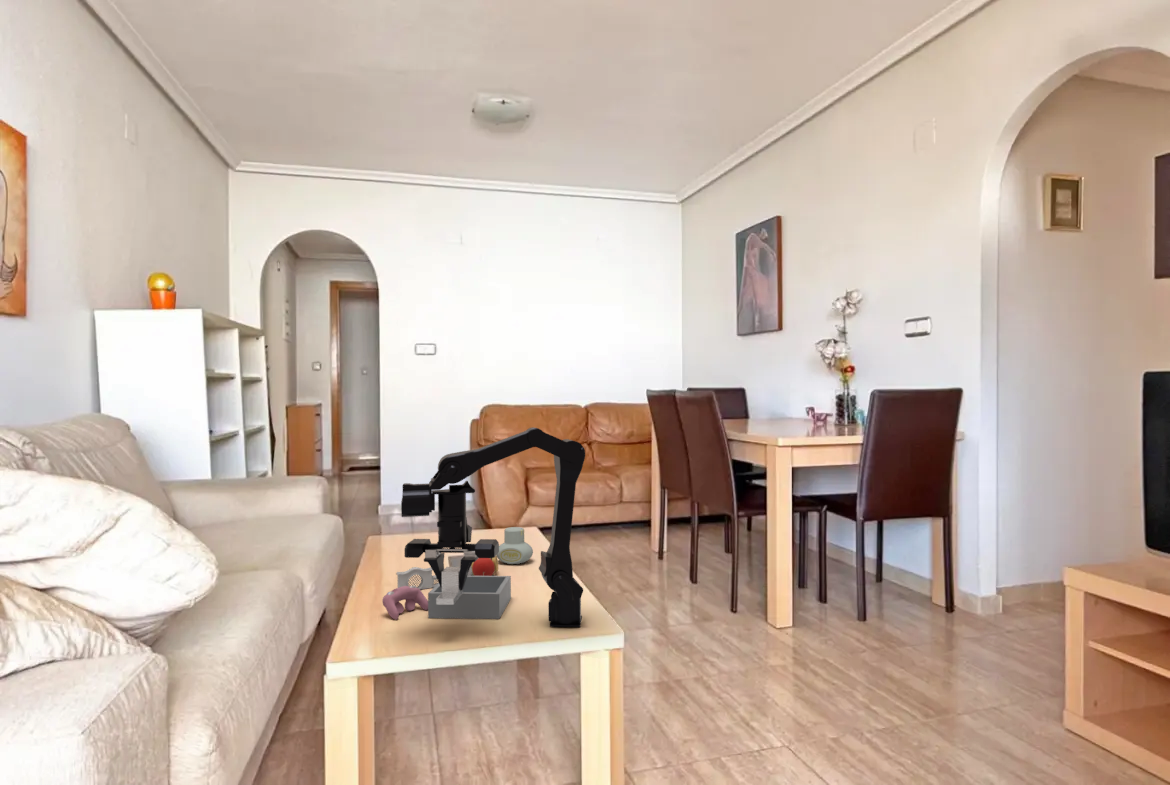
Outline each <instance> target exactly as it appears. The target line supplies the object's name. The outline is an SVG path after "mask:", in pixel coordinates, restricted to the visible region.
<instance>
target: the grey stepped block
mask: <svg viewBox="0 0 1170 785" xmlns="http://www.w3.org/2000/svg"><path fill="white" fill-rule="evenodd" d="M462 594H463V590H460V566H446V567H444V570H443V571H442V593H441V594H440V595H439V596H438V597H437V598H436V604H437V605H454V604H455V602H456V601H457V600H458V599H459V598H460V596H461V595H462Z"/></svg>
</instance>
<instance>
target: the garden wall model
mask: <svg viewBox="0 0 1170 785" xmlns="http://www.w3.org/2000/svg"><path fill="white" fill-rule="evenodd" d="M395 575H397V588H399V587H403V586H416V587H417V588H419V589H420V590H425V589H426V590H427V589H433V588H434V587H435V586H436V585H437V584H438V583H439V582H438V580H437V578H436V575H435V574H433V570H432V568H431V566H430V567H427V568H423V567H422V568H421V567H417V566H415V567H414V566H412V567H411V568H409V569H407V570H405V571H396V572H395Z"/></svg>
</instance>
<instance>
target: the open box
mask: <svg viewBox="0 0 1170 785" xmlns="http://www.w3.org/2000/svg"><path fill="white" fill-rule="evenodd" d="M511 577H512V576H511V575H492V576H474V575H467V578H466V582H465V585H464V588H463V594H462V595H461V596H460V598H459V599H458V600H457V601H456V602H455V604H454V605H437V604H436V598H437V597H438V596H439V595H440V594H441V593H442V589H441V587H440V584H439V583H438V582H437V583H438V584H437V585H436V586H435V587H433V588H431V590H429V592H428V593H427V600H428V610H427V614H428V615H427V618H428V619H461V620H462V619H463V620H464V619H468V620H469V619H471V620H474V619H477V620H478V619H479V620H481V619H482V620H500V619H501V617H502V615H503V614H504V612H505V610H506V608H507V606H508V604H509V603H510V601H511V598H512V585H511V584H512V583H511V581H512V580H511V579H512V578H511Z"/></svg>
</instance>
